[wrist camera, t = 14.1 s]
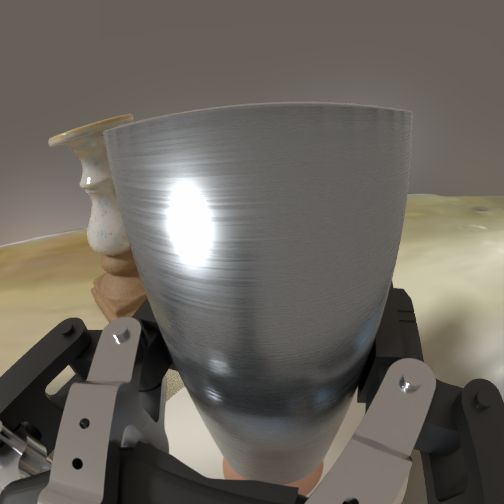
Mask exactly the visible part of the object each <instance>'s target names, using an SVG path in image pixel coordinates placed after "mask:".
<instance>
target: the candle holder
mask: <svg viewBox="0 0 504 504" xmlns="http://www.w3.org/2000/svg"><path fill="white" fill-rule="evenodd" d="M132 121H133V115H132V114H126V115H122V116H117V117H114V118H109V119H106V120H102V121H98V122H95V123H92V124H89V125H85V126H82V127H79V128H76V129H73V130H70V131H67V132H64V133H62V134H59V135H57V136H54V137H52V138H50V139H49V145H50V146H51V147H55V146H58V145H62V144H68V145H69V147H70V148H71V151H72V152H73V154H75V155H76V156H77V157H78V158H79V159H80V161H81V163H82V166H83V174H82V178H81V181H80V187H81V188H84V189H85V191H86V193H88V194H89V196H90V197H91V200H92V210H91V216H90V220H89V223H88V228H87V239H88V243H89V245H90V247H91V248H92V249H93V250H94V251H95V252H97V253H100V254H102V257H101V265H102V268H103V269H104V270H105V271H106V272H107V273H105V274H103V275H101V276H100V277H98V278H97V279H95V280H94V281H93V284H94V288H92V289H91V292H92V295H93V297H94V299H95V301H96V303H97V305H98V306H99V308H100V309H101V311H102V312H103V314H104V315H105V317H106V318H107V320H108V321H109V323H111V322H112V321H114V320H116V319H119V318H123V317H130V318H131V317H132V316H133V315H134V313H135V312H136V311H137V310H138V308H139V307H140V306H141V305H142V304H143V302H144V301H145V300H146V299H147V295H146V292H145V289H144V287H143V284H142V281H141V278H140V275H139V272H138V269H137V266H136V263H135V260H134V257H133V254H132V250H131V247H130V244H129V241H128V237H127V234H126V230H125V227H124V223H123V220H122V216H121V212H120V208H119V204H118V200H117V196H116V192H115V188H114V184H113V179H112V175H111V170H110V166H109V161H108V156H107V151H106V145H105V140H104V134H103V131H105V130H108V129H111V128H115V127H118V126H122V125H125V124H129V123H131V122H132Z"/></svg>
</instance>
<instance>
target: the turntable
mask: <svg viewBox="0 0 504 504" xmlns="http://www.w3.org/2000/svg"><path fill="white" fill-rule="evenodd" d="M357 392H358V387H357V390H356V392H355V394H354V397H353V399H352V402H351V404H350V406H349V409H348V411H347V413H346V415H345V417H344V420H343V422H342V424H341V426H340V428H339V430H338V432H337V434H336V436H335V438H334V440H333V442H332V444H331V446H330V448H329V450H328V452H327V454H326V456H325V458H324V459H323V461H322V462H321V464H320V465H319V466H318V467H317V468H316V469H315V470H314V471H313V472H312V473H311V474H309V475H308V476H306V477H305V478H303V479H301V480H298V481H296V482H293V483H290V484H285V486H291V487H299V490H298V494H301V495H304V496H306V497H308V498H309V497H310V495H311V494H312V493H313V492H314V490H315V489H316V488H317V486H318V485H319V484H320V483H321V481H322V480H323V479H324V477H325V476H326V474H327V473H328V472H329V470H330V469H331V468H332V466H333V465H334V463H335V462H336V460H337V459H338V457H339V456H340V454H341V453H342V451H343V450H344V448H345V447H346V445H347V444H348V442H349V441H350V439H351V437H352V436H353V434H354V432H355V431H356V429H357V427H358V426H359V424H360V422H361V421H362V419H363V417H364V415H365V408H366V403H357ZM164 427H165V432H166V435H167V438H168V443H169V454H171V455H173V456H174V457H175V458H177V459H178V460H180V461H181V462H183V463H184V464H186V465H187V466H189V467H190V468H192V469H193V470H195V471H197V472H198V473H200V474H201V475H203V476H205V477H207V478H212V479H229V480H247V479H245V478H243V477H242V476H240V475H239V474H237V473H236V472H235V471H234V470H233V469H232V468H231V467H230V466H229V464H228V463H227V461H226V460H225V458H224V456H223V455H222V453H221V452H220V450H219V448H218V446H217V445H216V443H215V441H214V440H213V438H212V436H211V434H210V433H209V431H208V429H207V427H206V425H205V424H204V422H203V420H202V418H201V416H200V414H199V412H198V411H197V409H196V407H195V405H194V403H193V401H192V399H191V397H190V395H189V393H188V391H187V389H186V387H183V388H182V389H181V390H179V391H178V392H177V393H176V394H175V395H174V396H172V397H171V398H170V399H169V400H168V401H167V402H166V403H165V420H164ZM408 478H409V474H408V476H407V478H406V480H405V482H404V484H403V486H402V487H401V489H400V491H399V493H398V495H397V497H396V498H395V500H394V502H393V504H401V503H402V501H403V498H404V495H405V492H406V488H407V483H408Z"/></svg>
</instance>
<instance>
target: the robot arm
mask: <svg viewBox="0 0 504 504" xmlns="http://www.w3.org/2000/svg"><path fill="white" fill-rule="evenodd" d="M68 365H69V366H70V367H71V368H72V370H73V371H74V372H75V373H76V374H75V375H74V376H73V377H72V378H71V379H70V380H69V381H68V382H67V383H66V384H65V385H64V386H63V387H62V388H61V389H60V390H59V391H58V392H57V393H56V394H54V395H48V394H47V393H46V392H45V389H46V387H47V385H48V384H49V383H50V382H51V381H52V380H53V379H54V378H55V377H56V376H57V375H58V374H59V373H60V372H61V371H62V370H64V369H65V368H66V367H67V366H68ZM168 369H172V370H176V371H178V370H177V368H176V366H175V364H174V361H173V359H172V357H171V355H170V352H169V350H168V348H167V345H166V343H165V341H164V338H163V336H162V334H161V331H160V329H159V326H158V324H157V321H156V319H155V316H154V314H153V311H152V308H151V306H150V303H149V300H148V298H147V299H146V300H145V301H144V302H143V304H142V305H141V306H140V307H139V308H138V310H137V311H136V312H135V313H134V315H133V316H132V317H131V318H130V317H123V318H119V319H116V320H114V321H112V322H111V323H109V324H108V325H107V326H106V327H105V328H104V330H87V328H86V326H85V324H84V323H83V321H82V320H81V319H79V318H69V319H66V320H64V321H62V322H61V323H59V324H58V325H57V326H56V327H55V328H54V329H52V330H51V331H50V332H49V333H48V334H47V335H46V336H44V337H43V338H42V339H41V340H40V341H39V342H38V343H37V344H35V345H34V346H33V347H32V348H31V349H30V350H29V351H28V352H27V353H26V354H24V355H23V356H22V357H21V358H20V359H19V360H18V361H17V362H16V363H15V364H14V365H13V366H12V367H11V368H10V369H9V370H7V371H6V372H5V373H4V374H3V375H2V376H1V377H0V487H1V489H2V492H1V494H0V504H393V502H394V500H395V498H396V497H397V495H398V493H399V491H400V489H401V487H402V486H403V484H404V482H405V480H406V478H407V476H408V474H409V471H410V469H411V466H412V459H411V452H412V450H413V449H417V450H420V452H421V458H422V464H423V470H424V477H425V484H426V491H427V500H428V504H504V402H503V400H502V397H501V395H500V392H499V390H498V389H497V387H496V386H495V385H494V384H493V383H491V382H490V381H488V380H485V379H474V380H472V381H470V382H469V383H468V384H467V385H466V386H465V387H464V388H461V387H457V386H453V385H450V384H447V383H444V382H441V381H439V380H437V379H436V378H435V375H434V372H433V371H432V369H431V368H430V367H429V366H428V365H427V364H426V363H424V360H423V355H422V349H421V343H420V337H419V332H418V327H417V323H416V317H415V313H414V308H413V304H412V300H411V298H410V297H409V296H408V294H407V293H406V292H405V290H404V289H398V288H393V283H392V281H391V285H390V289H389V293H388V297H387V300H386V304H385V308H384V311H383V315H382V318H381V321H380V325H379V328H378V331H377V334H376V337H375V341H374V344H373V347H372V349H371V352H370V355H369V358H368V361H367V364H366V366H365V369H364V372H363V374H362V377H361V380H360V382H359V385H358V392H357V403H366V408H365V415H364V417H363V419H362V421H361V422H360V424H359V426H358V427H357V429H356V431H355V432H354V434H353V436H352V437H351V439H350V441H349V442H348V444H347V445H346V447H345V448H344V450H343V451H342V453H341V454H340V456H339V457H338V459H337V460H336V462H335V463H334V465H333V466H332V468H331V469H330V470H329V472H328V473H327V474H326V476H325V477H324V479H323V480H322V481H321V483H320V484H319V485H318V486H317V488H316V489H315V490H314V492H313V493H312V494H311V495H310V497H309V498H308V497H306V496H304V495H301V494H298V490H299V487H291V486H285V485H278V484H273V483H267V482H262V481H257V480H229V479H212V478H207V477H205V476H203V475H201V474H200V473H198V472H197V471H195V470H193V469H192V468H190V467H189V466H187V465H186V464H184V463H183V462H181V461H180V460H178V459H177V458H175V457H174V456H173V455H171V454H169V443H168V438H167V435H166V432H165V427H164V420H165V403H166V389H167V378H166V376H165V374H166V372H167V371H168ZM54 449H55V450H54ZM53 450H54V455H53V461H52V460H51V459H50V458H49V457H48V455H49V454H50V453H51V452H52V451H53ZM42 468H43V469H45V470H49V469H50V468H51V470H49V471H46V472H42V473H40V471H41V469H42Z"/></svg>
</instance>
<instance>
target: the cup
mask: <svg viewBox="0 0 504 504" xmlns="http://www.w3.org/2000/svg"><path fill="white" fill-rule="evenodd" d="M412 132H413V112H412V111H408V110H403V109H396V108H390V107H382V106H372V105H363V104H351V103H333V102H273V103H254V104H241V105H231V106H221V107H213V108H205V109H198V110H192V111H186V112H180V113H174V114H169V115H164V116H159V117H154V118H150V119H145V120H141V121H137V122H133V123H129V124H125V125H122V126H118V127H115V128H111V129H108V130H105V131H103V134H104V140H105V145H106V151H107V156H108V161H109V166H110V170H111V175H112V179H113V184H114V188H115V192H116V196H117V200H118V204H119V208H120V212H121V216H122V220H123V223H124V227H125V230H126V234H127V237H128V241H129V244H130V247H131V250H132V254H133V257H134V260H135V263H136V266H137V269H138V272H139V275H140V278H141V281H142V284H143V287H144V289H145V292H146V295H147V298H148V300H149V303H150V306H151V308H152V311H153V314H154V316H155V319H156V321H157V324H158V326H159V329H160V331H161V334H162V336H163V338H164V341H165V343H166V345H167V348H168V350H169V352H170V355H171V357H172V359H173V361H174V364H175V366H176V368H177V370H178V372H179V374H180V377H181V379H182V381H183V383H184V385H185V387H186V389H187V391H188V393H189V395H190V397H191V399H192V401H193V403H194V405H195V407H196V409H197V411H198V412H199V414H200V416H201V418H202V420H203V422H204V424H205V425H206V427H207V429H208V431H209V433H210V434H211V436H212V438H213V440H214V441H215V443H216V445H217V446H218V448H219V450H220V452H221V453H222V455H223V456H224V458H225V460H226V461H227V463H228V464H229V466H230V467H231V468H232V469H233V470H234V471H235V472H236V473H237V474H239V475H240V476H242V477H243V478H245V479H247V480H257V481H262V482H267V483H273V484H278V485H285V484H290V483H293V482H296V481H298V480H301V479H303V478H305V477H306V476H308V475H309V474H311V473H312V472H313V471H314V470H315V469H316V468H317V467H318V466H319V465H320V464H321V462H322V461H323V459H324V458H325V456H326V454H327V452H328V450H329V448H330V446H331V444H332V442H333V440H334V438H335V436H336V434H337V432H338V430H339V428H340V426H341V424H342V422H343V420H344V417H345V415H346V413H347V411H348V409H349V406H350V404H351V402H352V399H353V397H354V394H355V392H356V390H357V387H358V385H359V382H360V380H361V377H362V374H363V372H364V369H365V366H366V364H367V361H368V358H369V355H370V352H371V349H372V347H373V344H374V341H375V337H376V334H377V331H378V328H379V325H380V321H381V318H382V315H383V311H384V308H385V304H386V300H387V297H388V293H389V289H390V285H391V281H392V277H393V272H394V268H395V264H396V259H397V254H398V249H399V244H400V239H401V233H402V228H403V222H404V215H405V209H406V201H407V194H408V185H409V176H410V165H411V151H412Z"/></svg>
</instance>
